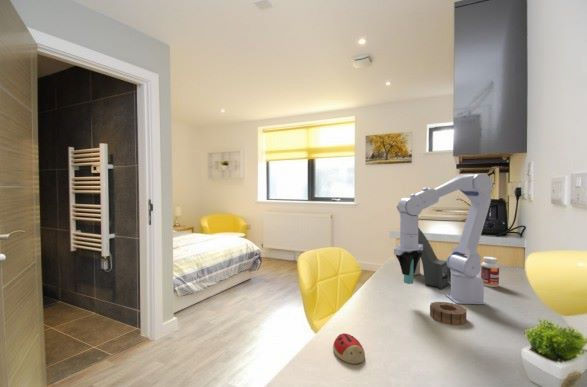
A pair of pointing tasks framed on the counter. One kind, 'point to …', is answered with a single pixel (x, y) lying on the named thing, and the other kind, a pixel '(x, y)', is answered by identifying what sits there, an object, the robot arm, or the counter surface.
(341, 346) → the ladybug figurine
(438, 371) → the counter surface
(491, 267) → the pill bottle
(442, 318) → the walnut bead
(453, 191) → the robot arm
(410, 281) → the capsule peg
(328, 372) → the counter surface
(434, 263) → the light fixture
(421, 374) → the counter surface
